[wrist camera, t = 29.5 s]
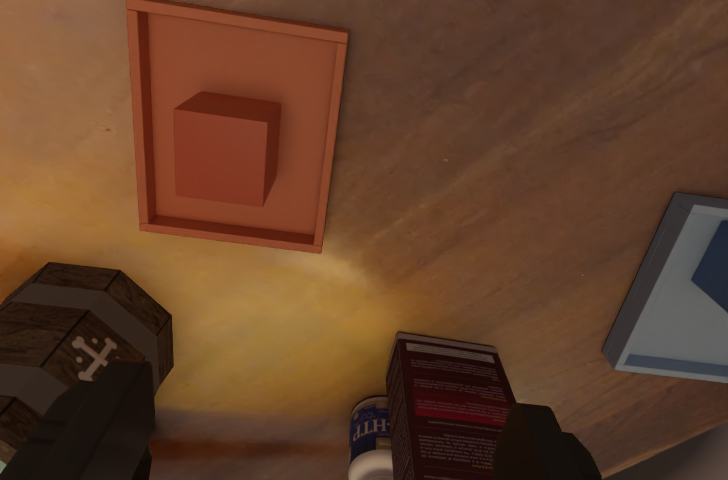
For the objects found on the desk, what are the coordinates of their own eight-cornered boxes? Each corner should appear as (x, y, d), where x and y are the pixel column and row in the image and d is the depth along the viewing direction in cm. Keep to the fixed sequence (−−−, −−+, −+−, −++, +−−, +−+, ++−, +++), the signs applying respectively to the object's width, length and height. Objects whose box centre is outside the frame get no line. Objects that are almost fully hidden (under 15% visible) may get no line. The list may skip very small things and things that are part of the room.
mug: (-32, 281, 38) (-248, 444, 24) (132, 241, 36) (-2, 391, 23) (95, 455, 46) (-13, 646, 33) (231, 429, 45) (176, 617, 31)
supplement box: (383, 375, 42) (395, 572, 28) (396, 329, 40) (416, 517, 26) (481, 389, 43) (541, 588, 29) (499, 346, 41) (573, 537, 27)
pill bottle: (402, 389, 43) (411, 481, 35) (414, 431, 45) (426, 526, 37) (342, 401, 43) (338, 493, 35) (358, 442, 46) (357, 537, 38)
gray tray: (674, 191, 35) (694, 204, 33) (835, 214, 36) (864, 228, 33) (601, 351, 41) (613, 370, 39) (739, 367, 42) (758, 386, 40)
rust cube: (200, 90, 31) (172, 108, 26) (281, 102, 31) (268, 122, 26) (200, 167, 33) (175, 196, 28) (276, 178, 33) (263, 207, 29)
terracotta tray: (141, -4, 29) (125, -4, 27) (349, 29, 30) (348, 32, 28) (152, 216, 35) (139, 231, 33) (323, 238, 36) (321, 253, 34)
